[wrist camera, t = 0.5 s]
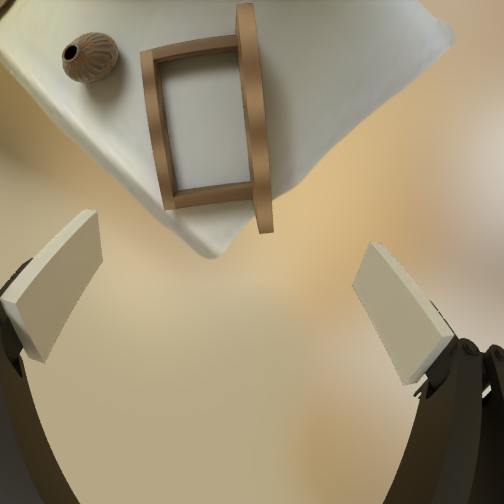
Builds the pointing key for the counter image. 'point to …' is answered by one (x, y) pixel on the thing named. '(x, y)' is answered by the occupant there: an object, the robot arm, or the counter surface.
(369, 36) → the counter surface
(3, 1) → the saucer
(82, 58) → the vase
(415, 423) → the robot arm
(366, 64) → the counter surface
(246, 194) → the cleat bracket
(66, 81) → the counter surface
